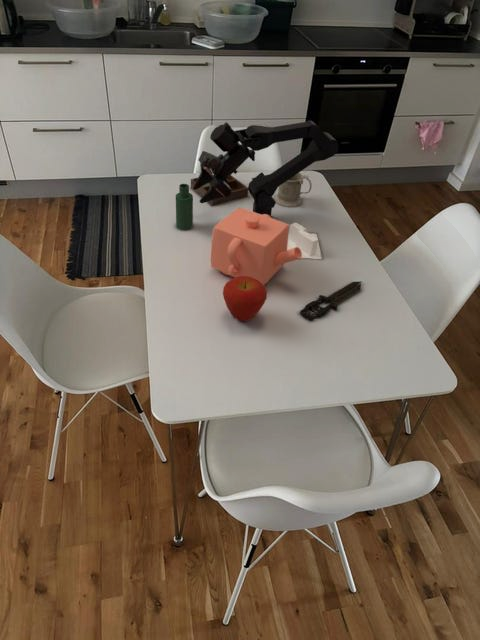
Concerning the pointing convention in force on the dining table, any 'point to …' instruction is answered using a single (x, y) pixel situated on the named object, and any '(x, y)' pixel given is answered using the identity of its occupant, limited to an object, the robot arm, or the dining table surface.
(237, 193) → the tray
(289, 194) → the mug
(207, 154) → the robot arm
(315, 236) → the napkin holder
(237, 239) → the teapot
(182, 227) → the bottle
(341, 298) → the knife
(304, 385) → the dining table surface
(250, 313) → the apple
